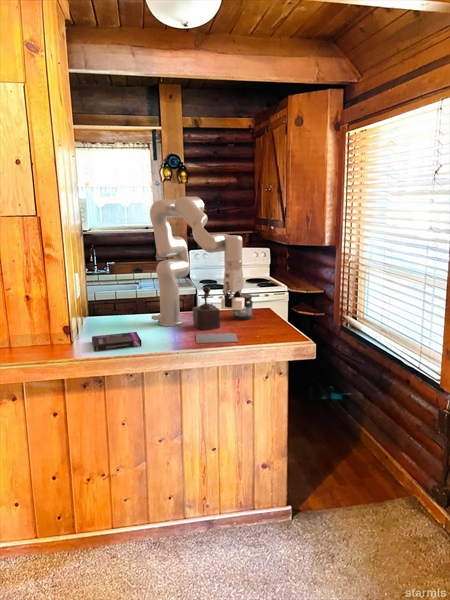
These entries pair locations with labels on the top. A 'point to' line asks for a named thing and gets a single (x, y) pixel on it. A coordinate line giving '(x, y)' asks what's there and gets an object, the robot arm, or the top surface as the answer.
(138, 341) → the box
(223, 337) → the mat
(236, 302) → the card box
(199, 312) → the vintage coffee grinder
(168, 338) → the top surface
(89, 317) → the top surface
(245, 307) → the supplement container
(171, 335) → the top surface
